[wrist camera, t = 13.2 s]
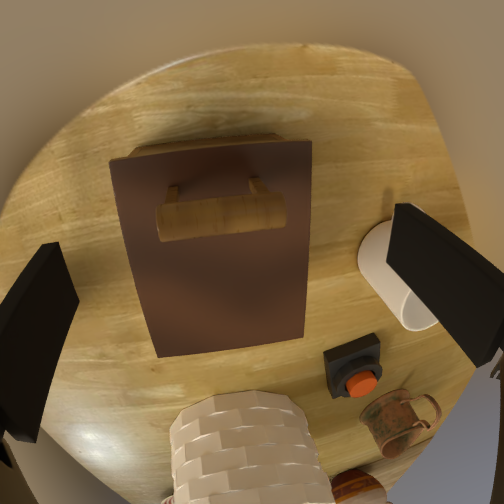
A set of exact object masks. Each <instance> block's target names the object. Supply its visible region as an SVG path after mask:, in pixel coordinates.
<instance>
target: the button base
mask: <svg viewBox="0 0 504 504" xmlns="http://www.w3.org/2000/svg"><path fill="white" fill-rule="evenodd" d="M323 354H324V361H325V368H326V375H327V382H328V389H329V392H330V394H331V396H332V398H333V399H335V398H337V397H340V396H342V397H351V396H350V394H349V392H348V390H347V388H346V383H347V381H348V380H349V379H350V378H351V377H353V376H354V375H355V374H357V373H360V372H362V371H366V370H370V371H372V373H373V374H374V376H375V378H376V380H377V382H378V381H379V379H380V378H381V376H382V367H381V365H380V364H379V358H380V341H379V339H378V338H377V336H376V335H375V334H374V333H371V334H369V335H366V336H364V337H362V338H359V339H357V340H354V341H351V342H349V343H346V344H344V345H341V346H339V347H336V348H333V349H330V350H328V351H325V352H323Z"/></svg>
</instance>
